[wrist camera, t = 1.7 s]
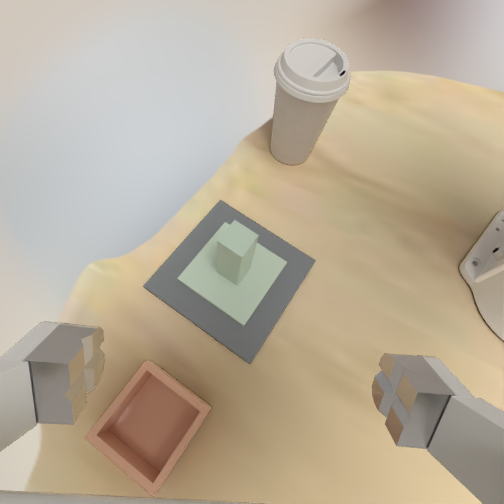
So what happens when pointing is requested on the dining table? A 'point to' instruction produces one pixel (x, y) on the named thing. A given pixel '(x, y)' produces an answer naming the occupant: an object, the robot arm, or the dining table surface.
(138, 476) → the open box
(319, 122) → the coffee cup
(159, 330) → the dining table surface
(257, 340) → the mat
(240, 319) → the lid
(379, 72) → the dining table surface
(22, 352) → the robot arm
